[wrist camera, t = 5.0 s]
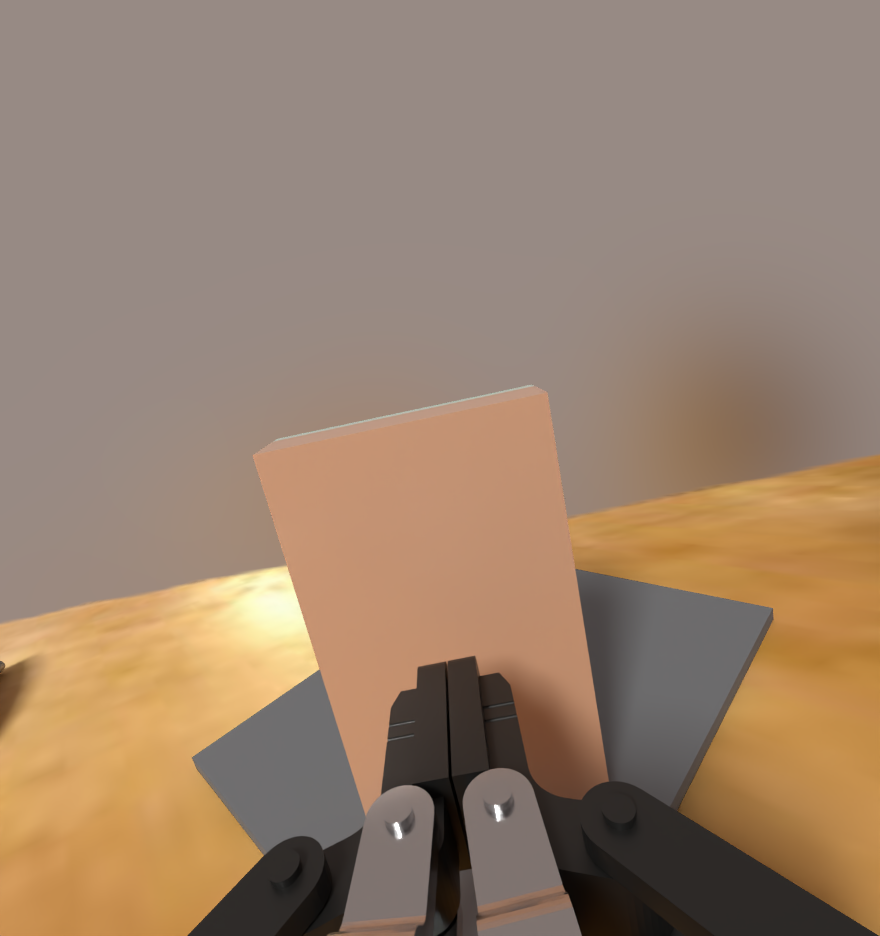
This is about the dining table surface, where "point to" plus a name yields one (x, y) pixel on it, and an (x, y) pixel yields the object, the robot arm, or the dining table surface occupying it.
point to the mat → (617, 696)
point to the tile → (440, 572)
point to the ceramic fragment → (2, 666)
